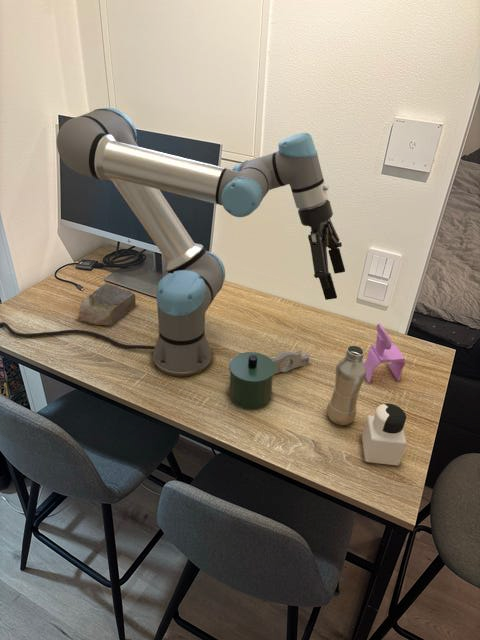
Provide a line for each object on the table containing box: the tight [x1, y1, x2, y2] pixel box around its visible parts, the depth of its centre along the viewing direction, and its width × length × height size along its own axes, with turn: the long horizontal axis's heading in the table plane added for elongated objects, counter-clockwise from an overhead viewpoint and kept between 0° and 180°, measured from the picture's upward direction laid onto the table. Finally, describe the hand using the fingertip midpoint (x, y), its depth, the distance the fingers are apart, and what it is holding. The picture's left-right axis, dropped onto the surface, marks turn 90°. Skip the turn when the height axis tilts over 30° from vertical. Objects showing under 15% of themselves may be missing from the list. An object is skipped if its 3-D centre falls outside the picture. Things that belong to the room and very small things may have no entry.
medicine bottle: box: [361, 402, 407, 467], centre depth 102 cm, size 7×7×12 cm
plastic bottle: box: [326, 344, 366, 426], centre depth 108 cm, size 6×7×20 cm
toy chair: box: [363, 323, 406, 383], centre depth 123 cm, size 8×9×15 cm
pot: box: [229, 372, 274, 410], centre depth 116 cm, size 10×10×8 cm
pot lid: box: [228, 351, 275, 383], centre depth 113 cm, size 11×11×4 cm
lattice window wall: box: [269, 348, 312, 375], centre depth 126 cm, size 12×2×6 cm, turn 117°
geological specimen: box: [78, 282, 137, 327], centre depth 144 cm, size 11×6×15 cm
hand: (335, 284), depth 120 cm, fingers open, 13 cm apart
